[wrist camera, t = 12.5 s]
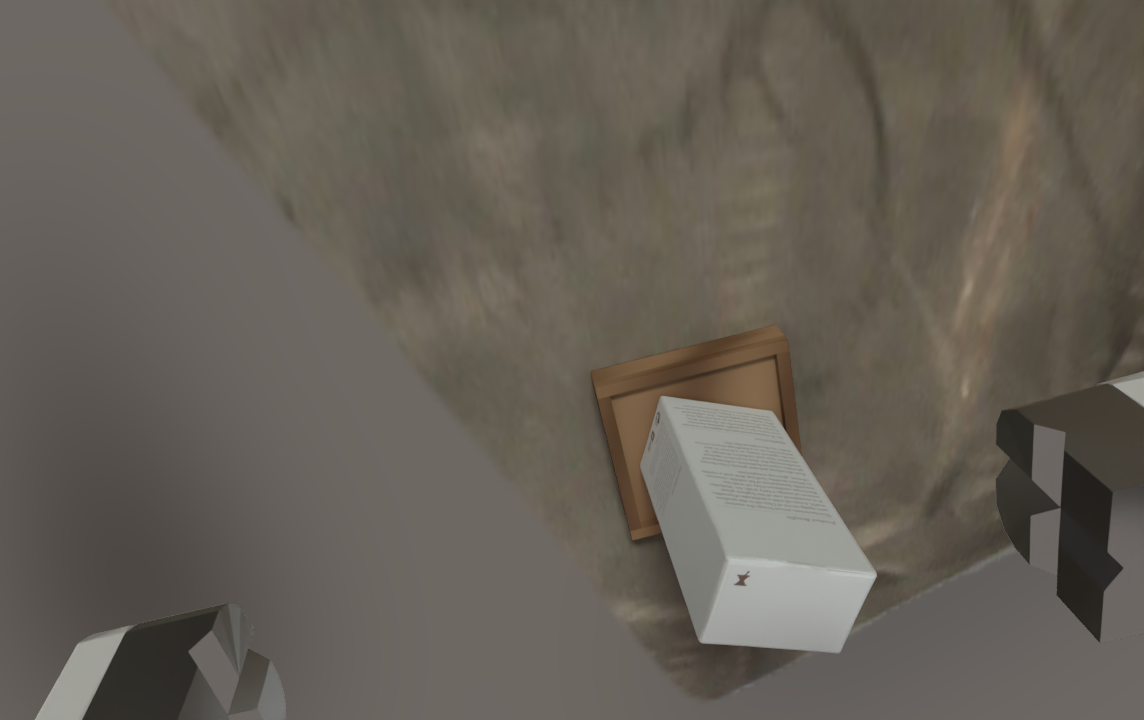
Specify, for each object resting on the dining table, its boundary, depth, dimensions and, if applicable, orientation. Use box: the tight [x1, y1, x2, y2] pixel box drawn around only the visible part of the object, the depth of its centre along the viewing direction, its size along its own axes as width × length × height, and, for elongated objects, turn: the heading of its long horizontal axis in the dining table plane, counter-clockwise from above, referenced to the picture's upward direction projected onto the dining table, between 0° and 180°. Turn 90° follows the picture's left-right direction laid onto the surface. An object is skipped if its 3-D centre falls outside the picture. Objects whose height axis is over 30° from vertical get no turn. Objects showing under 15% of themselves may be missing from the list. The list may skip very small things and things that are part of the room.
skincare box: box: [640, 396, 877, 653], centre depth 37 cm, size 6×4×12 cm
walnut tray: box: [591, 325, 802, 540], centre depth 42 cm, size 9×9×2 cm
